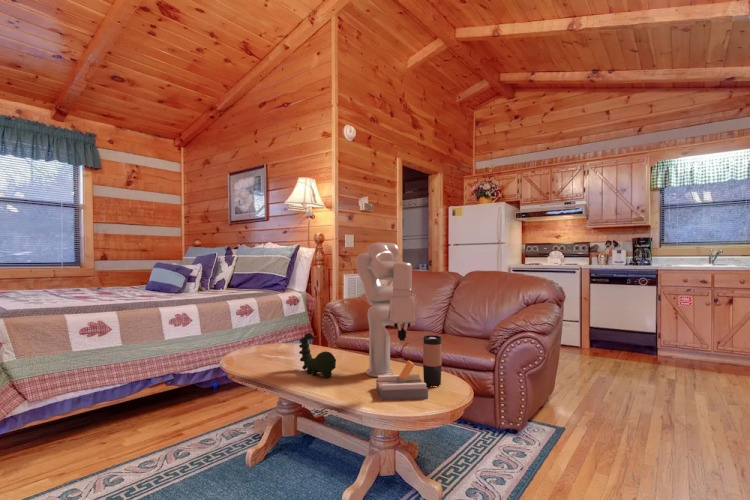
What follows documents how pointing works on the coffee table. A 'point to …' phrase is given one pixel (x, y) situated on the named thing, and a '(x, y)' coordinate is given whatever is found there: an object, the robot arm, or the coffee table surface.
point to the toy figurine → (316, 359)
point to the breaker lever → (405, 372)
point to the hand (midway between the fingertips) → (401, 339)
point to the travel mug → (432, 360)
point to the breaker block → (401, 388)
